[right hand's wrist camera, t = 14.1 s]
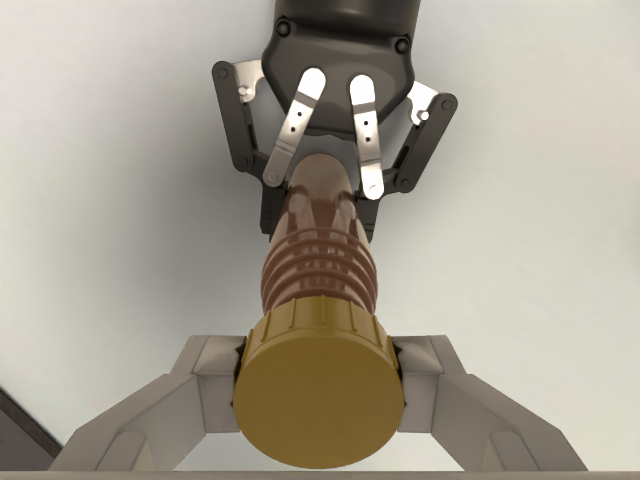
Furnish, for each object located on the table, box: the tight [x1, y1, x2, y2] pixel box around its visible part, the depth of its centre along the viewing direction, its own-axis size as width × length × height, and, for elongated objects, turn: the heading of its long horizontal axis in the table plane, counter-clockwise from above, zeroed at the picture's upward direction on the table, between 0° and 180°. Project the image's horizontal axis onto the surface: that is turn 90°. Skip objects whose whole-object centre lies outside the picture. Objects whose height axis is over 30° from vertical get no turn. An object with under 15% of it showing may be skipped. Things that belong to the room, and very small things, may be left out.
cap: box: [233, 295, 404, 469], centre depth 10 cm, size 4×4×2 cm
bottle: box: [261, 154, 378, 316], centre depth 20 cm, size 4×4×23 cm
